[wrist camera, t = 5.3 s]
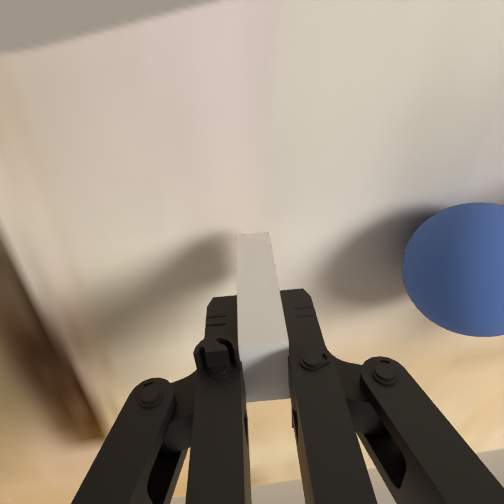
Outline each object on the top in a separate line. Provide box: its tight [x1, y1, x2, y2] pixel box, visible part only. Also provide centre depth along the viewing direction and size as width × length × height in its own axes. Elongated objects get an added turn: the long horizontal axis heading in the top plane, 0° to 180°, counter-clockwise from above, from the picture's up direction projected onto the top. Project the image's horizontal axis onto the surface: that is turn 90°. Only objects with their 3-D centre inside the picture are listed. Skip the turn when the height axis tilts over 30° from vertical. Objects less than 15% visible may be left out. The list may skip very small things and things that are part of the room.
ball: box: [402, 203, 504, 337], centre depth 16 cm, size 6×6×6 cm
